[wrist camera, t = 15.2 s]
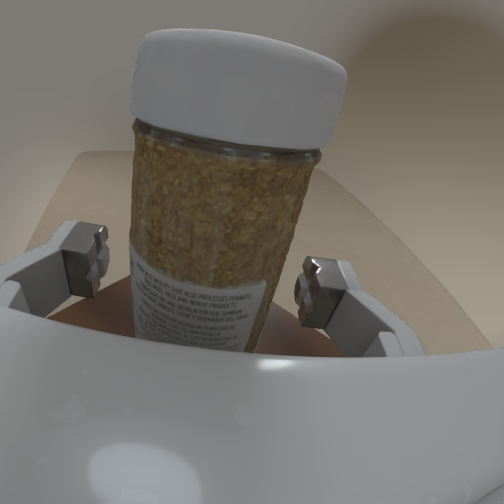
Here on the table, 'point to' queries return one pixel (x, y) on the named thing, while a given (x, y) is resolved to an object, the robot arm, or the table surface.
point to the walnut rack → (122, 323)
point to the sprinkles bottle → (220, 178)
